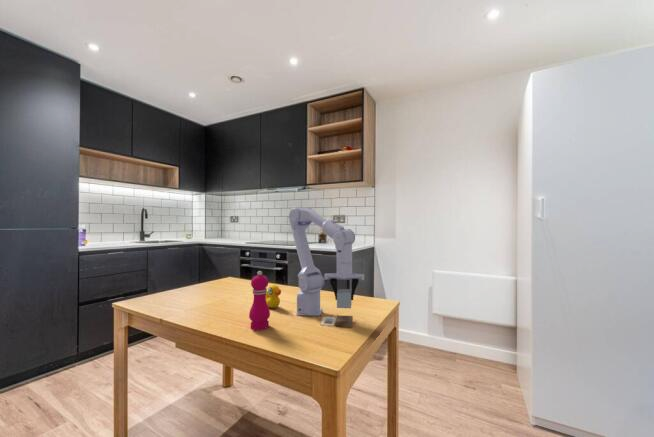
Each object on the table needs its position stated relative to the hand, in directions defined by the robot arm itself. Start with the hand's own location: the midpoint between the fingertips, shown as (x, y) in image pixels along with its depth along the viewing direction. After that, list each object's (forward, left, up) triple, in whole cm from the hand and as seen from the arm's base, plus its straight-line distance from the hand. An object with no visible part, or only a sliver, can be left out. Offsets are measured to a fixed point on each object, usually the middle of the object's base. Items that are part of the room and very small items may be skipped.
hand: (344, 299), depth 101 cm
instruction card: (-6, +2, -9) cm, 11 cm away
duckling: (-32, +16, -9) cm, 37 cm away
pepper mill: (-30, -6, -9) cm, 32 cm away
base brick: (0, 0, -9) cm, 9 cm away
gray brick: (0, 0, -2) cm, 2 cm away
